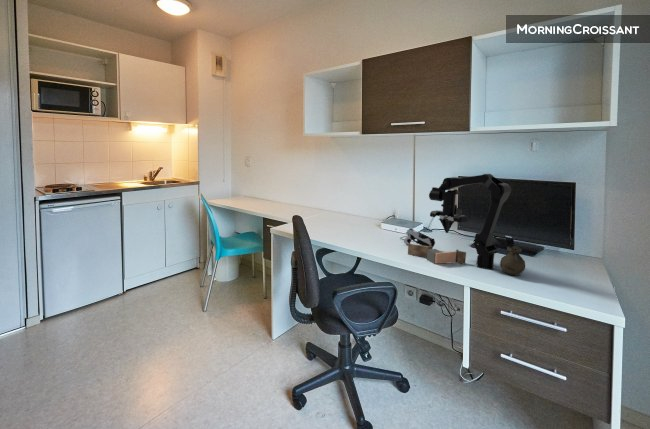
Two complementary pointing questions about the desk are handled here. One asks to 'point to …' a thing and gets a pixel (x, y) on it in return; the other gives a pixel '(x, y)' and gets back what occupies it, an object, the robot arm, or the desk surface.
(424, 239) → the toy gun
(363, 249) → the desk surface
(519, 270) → the drawstring pouch
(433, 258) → the block
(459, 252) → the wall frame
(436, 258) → the door
